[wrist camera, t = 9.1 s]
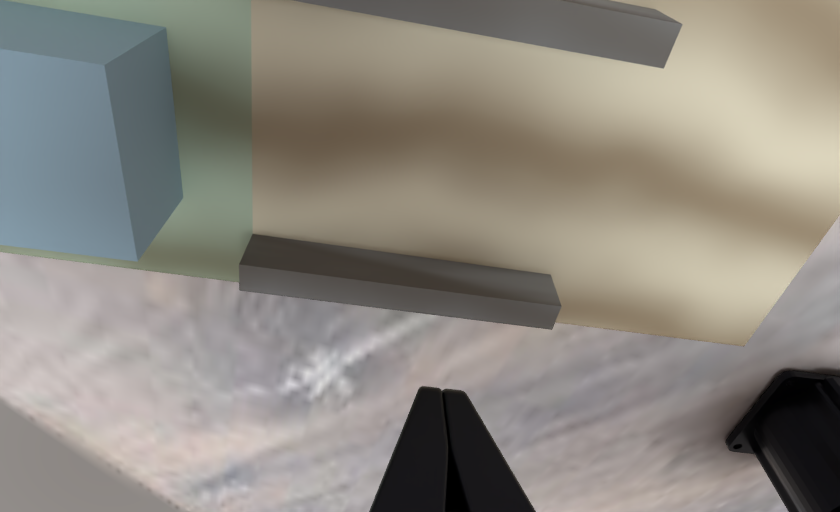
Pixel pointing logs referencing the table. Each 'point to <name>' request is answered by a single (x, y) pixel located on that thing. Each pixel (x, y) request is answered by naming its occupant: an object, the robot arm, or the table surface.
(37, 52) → the blue block
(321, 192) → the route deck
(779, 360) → the table surface
